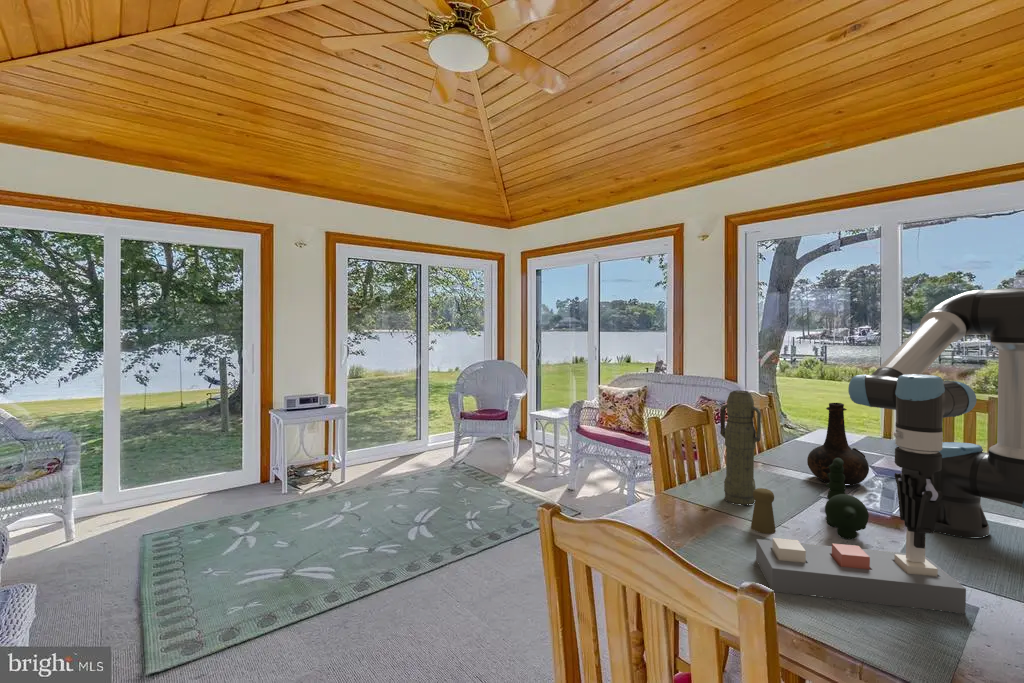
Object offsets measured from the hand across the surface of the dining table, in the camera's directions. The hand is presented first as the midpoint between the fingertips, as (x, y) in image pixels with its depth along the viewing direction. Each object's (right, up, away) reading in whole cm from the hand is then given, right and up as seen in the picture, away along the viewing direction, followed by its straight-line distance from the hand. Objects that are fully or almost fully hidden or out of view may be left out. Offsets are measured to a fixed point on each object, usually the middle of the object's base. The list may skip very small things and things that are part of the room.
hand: (915, 560), depth 101 cm
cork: (-16, -6, +31) cm, 35 cm away
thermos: (-12, -5, +52) cm, 54 cm away
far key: (-23, -3, +6) cm, 24 cm away
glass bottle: (+30, -4, +69) cm, 75 cm away
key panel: (-11, -7, +3) cm, 14 cm away
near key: (0, -4, 0) cm, 4 cm away
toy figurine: (+6, -6, +31) cm, 32 cm away
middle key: (-11, -3, +3) cm, 12 cm away
